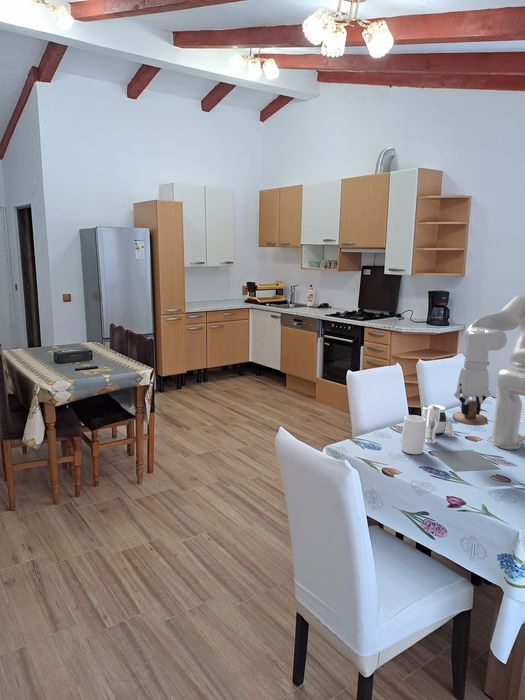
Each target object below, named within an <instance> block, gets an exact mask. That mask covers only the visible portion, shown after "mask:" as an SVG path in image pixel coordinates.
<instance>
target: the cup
mask: <svg viewBox="0 0 525 700" xmlns="http://www.w3.org/2000/svg"><path fill="white" fill-rule="evenodd" d="M403 418H404V419H403V425H402V433H401V450H402V452H404V453H406V454H409V455H410V454H411V455H420V454H423V452H424V446H425V442H424V441H425V432H426V419H425V418H423V417H422V415H421V416H420V415H417V414H416V415H415V414H407V415H405V416H404V417H403Z"/></svg>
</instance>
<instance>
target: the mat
mask: <svg viewBox="0 0 525 700" xmlns="http://www.w3.org/2000/svg"><path fill="white" fill-rule="evenodd" d="M430 453H431V454H432V455H434V456H435V457H436V458H437V459H439V460H440V461H441V462H443V463H444V464H445V465H446V466H447V467H448V468H450V469H451V470H452V471H453V472H454V473H455V472H471V471H472V472H474V471H477V472H478V471H492V470H493V471H494V470H501V468H500V467H499V466H497V465H495V464H494V463H493V462H491V461H489V460H488V459H487V458H486V457H484V456H482V455H481V454H479V453H478V452H476V450H473V449H460V450H458V449H457V450H440V451H439V450H436V451H435V450H434V451H430Z"/></svg>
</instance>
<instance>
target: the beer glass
mask: <svg viewBox="0 0 525 700" xmlns="http://www.w3.org/2000/svg"><path fill="white" fill-rule="evenodd" d="M434 405H435V404H425V405H423V406H422V411H421V417H423V418H425V419H426V432H425V441H424V444H435V443H437V440H436V437H437V436H436V431H437V428H438V424H439V419H440V408H439V407H437V406H434Z"/></svg>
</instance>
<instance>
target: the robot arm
mask: <svg viewBox="0 0 525 700" xmlns="http://www.w3.org/2000/svg"><path fill="white" fill-rule="evenodd" d="M517 328H518V333H517V334H518V335H517V338H516V341H515V343H514V345H513V348H512V350H511V352H510V355H509V359H508V360H509V364H510V366H512V367H513V368H511V367H510V368H508V367H507V368H503V369H501V370H500V371H498V373H497V374H496V382H495V383H496V401H495V402H496V403H495V410H494V416H493V425H492V432H491V436H489V437H487V440H486V441H487V442H488V443H489V444H490V445H493V446H495V447H496V448H498V449H502V450H510V451H511V450H512V451H513V450H519V449H520V448H521V447H522V443H521V442H522V441H525V435H522V434H519V430H520V423H521V416H522V410H523V403H522V399H521V397H520V396H523V397H525V371H524V370H525V294H518V295H516V296H515V297H513V298H512V299H511V300H510V301H509V302H508V303H507V304H506V305H505V306H504V307H503V308H501V310H500V311H496V312H493V313H490V314H487V315H484V316H481V317H480V318H477V319H475V321H474V322H472V323H471V324H470V325H469V326H468V327H467V329H466V331H465V333H464V340H465V344H466V346H465V355H464V364H463V365H464V366H463V367H461V369H460V373H459V375H458V380H457V386H456V391H455V392H454V394H453V396H454V397H455V398H456V399H458V401H459V402H460V403H461V406H460V407H461V409H460V412H462V413H463V414H464V415H468V408H469V405H468V400H470V397H474V399H475V400H474V401H477V402H478V403H477V412H476V414H477V415H479V414H480V413H481V408H482V407H481V406H482V405H483V402H484V401H485V400H486V399H488V398H489V397H490V396H491V395H492V393H490V391H489V386H490V385H489V380H490V378H489V377H490V376H489V370H488V366H490V365H491V364H490V362H489V359H488V358H489V351H499V350H502V349H503V348H504V347H505V346H506V344H507V341H508V337H507V334H506V332H508V331H513V330H516V329H517ZM514 367H515V368H518V369H515V368H514ZM480 415H481V414H480Z"/></svg>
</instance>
